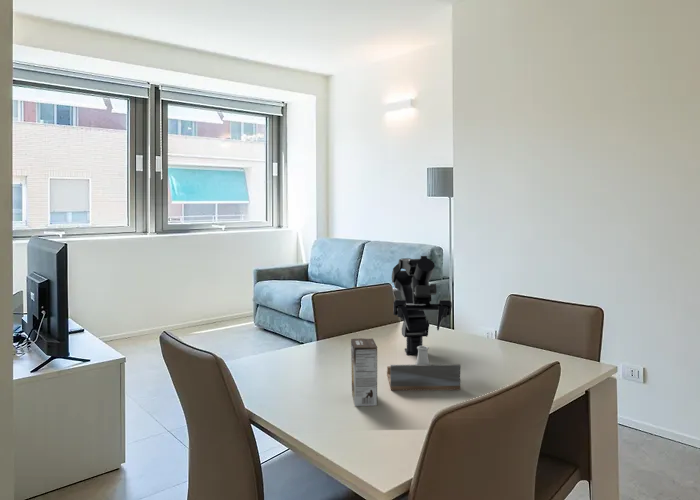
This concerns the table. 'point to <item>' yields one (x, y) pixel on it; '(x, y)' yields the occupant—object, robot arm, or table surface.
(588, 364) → the table surface
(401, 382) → the chalkboard eraser
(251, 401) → the table surface
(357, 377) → the coffee box
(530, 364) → the table surface
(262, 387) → the table surface
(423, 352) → the flask
